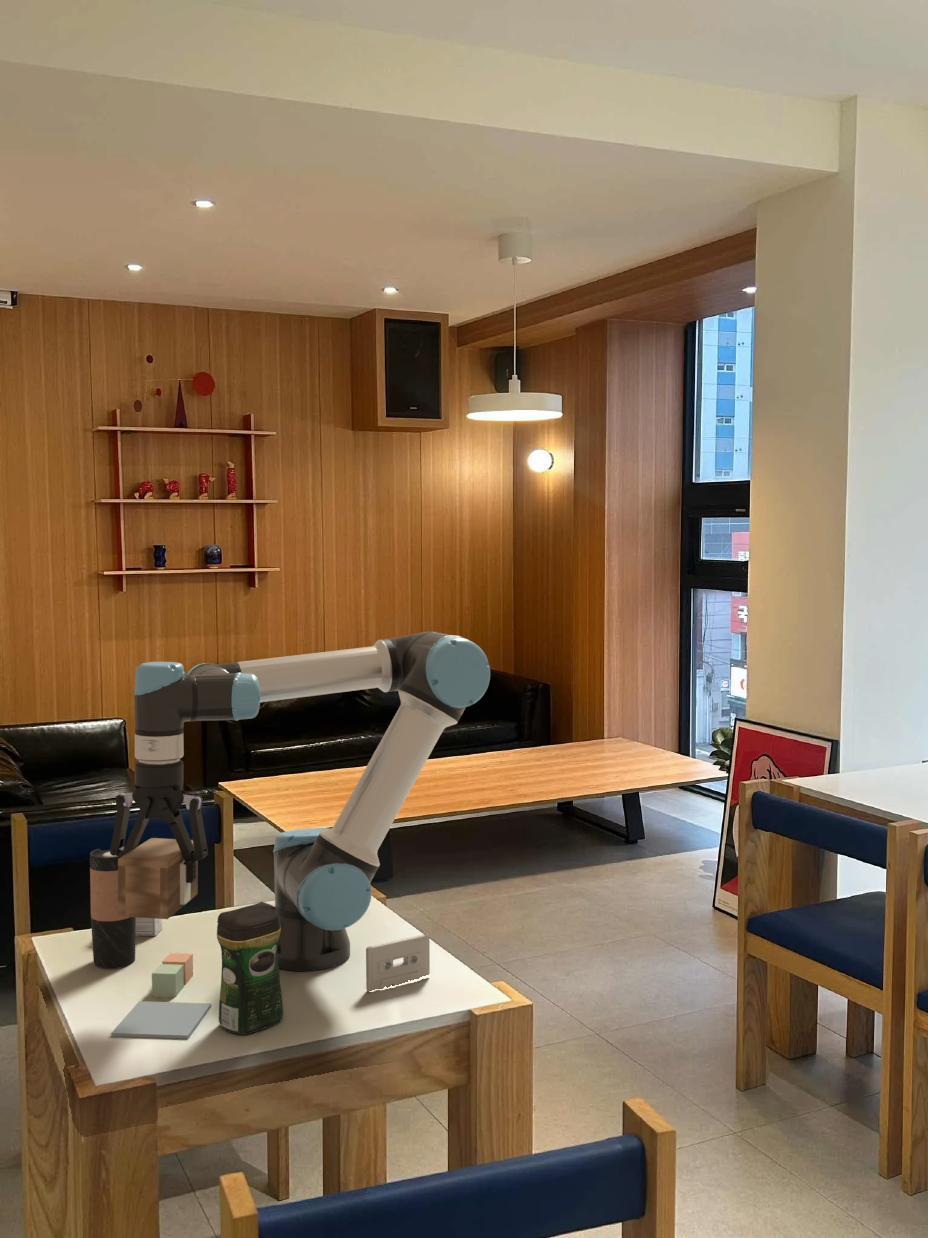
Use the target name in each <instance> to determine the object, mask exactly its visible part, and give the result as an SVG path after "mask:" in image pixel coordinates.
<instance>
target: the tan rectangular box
mask: <svg viewBox="0 0 928 1238" xmlns="http://www.w3.org/2000/svg"><path fill="white" fill-rule="evenodd" d="M191 842H192V844H193V839H191ZM193 846H194V844H193ZM184 861H185V860H184V858H183V856H182V853H181V851H180V848H179V846H178V844H177V841H176V839H175V838H158V837H151V838H149V839H147V840H146V841H144V842H143V843H141V844H140V845H139V844H138V846H137V847H136V848H135V849H133V850H132V851H130V852H128V853H127V854H125V855H124V856H122V857H121V858H119V859H118V916H122V917H138V918H154V919H162V920H169V918H171V917H172V916H174V915H175V914H176V913H177V912H178V911H179V910H180V909H182V908H183V907H184V906H185V905H180V864H181V863H182V862H184ZM198 864H199V860H198V861H197V862H196V879H195V881H194V882H192V883H191V900H192V899H194V898H195V897H196V896H197V895H199V894H198V891H199V890H198V888H199V885H198V881H199V879H198V877H199V876H198V875H199V872H198V871H199V869H198V868H199V867H198V866H199V865H198ZM189 902H190V901H188V902H187V903H186V904H188V903H189Z"/></svg>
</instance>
